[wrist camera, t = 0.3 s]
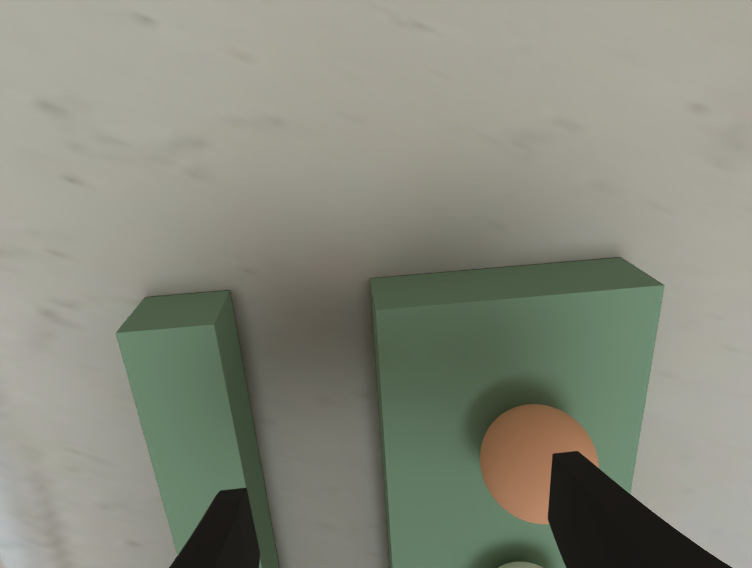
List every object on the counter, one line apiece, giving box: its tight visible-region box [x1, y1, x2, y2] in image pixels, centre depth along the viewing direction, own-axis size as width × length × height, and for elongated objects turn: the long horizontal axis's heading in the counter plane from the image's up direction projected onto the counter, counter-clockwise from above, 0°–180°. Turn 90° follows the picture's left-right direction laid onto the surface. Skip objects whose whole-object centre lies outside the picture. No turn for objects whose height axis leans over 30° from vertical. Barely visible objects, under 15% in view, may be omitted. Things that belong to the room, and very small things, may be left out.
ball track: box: [116, 257, 664, 568], centre depth 23 cm, size 17×19×3 cm
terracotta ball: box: [480, 404, 599, 524], centre depth 18 cm, size 4×4×4 cm
